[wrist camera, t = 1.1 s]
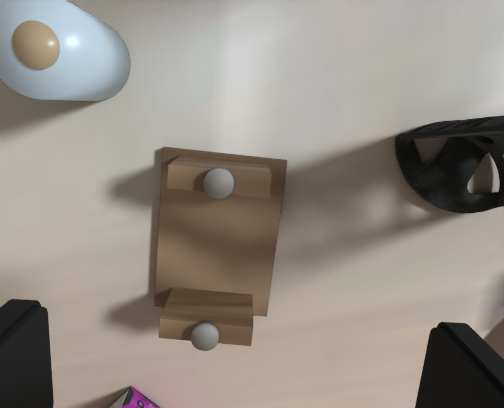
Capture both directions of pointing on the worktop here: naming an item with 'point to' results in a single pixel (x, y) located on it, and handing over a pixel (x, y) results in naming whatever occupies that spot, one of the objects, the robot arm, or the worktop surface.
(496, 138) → the holder
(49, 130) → the worktop surface
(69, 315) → the worktop surface
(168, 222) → the cradle
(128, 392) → the candy bar box
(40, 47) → the pale blue rounded cylinder
